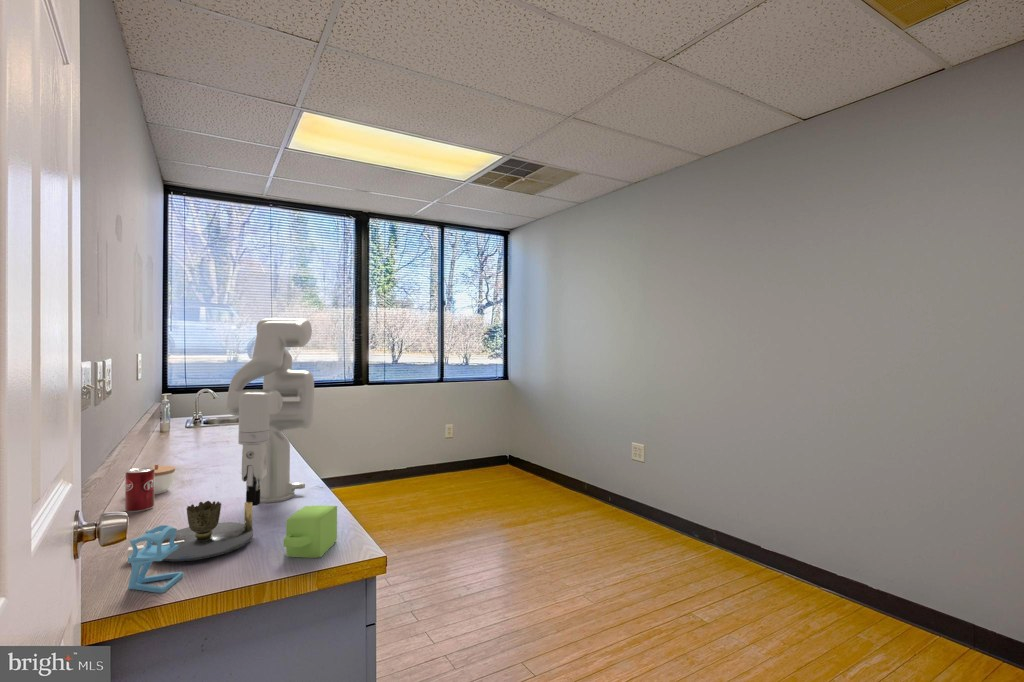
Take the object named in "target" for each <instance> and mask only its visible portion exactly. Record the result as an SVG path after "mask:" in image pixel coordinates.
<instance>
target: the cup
mask: <svg viewBox="0 0 1024 682" xmlns="http://www.w3.org/2000/svg"><path fill="white" fill-rule="evenodd" d="M185 509H186V516H187V524H188V526H189V527H190V529H191V530H192V531H193V532H195V533H196V534H195V536H196V538H197V539H205V538H208V537H210V536H211V535H212V530H213V529H214V528H215V527H216V526H217V524H218V523H220V522H219V520H220V517H221V509H222V503H221V502H219V501H217V502H216V500H214V501H212V502H211V501H210V500H207V501H204V502H203V501H200V502H199V503H198V505H195V504H193V503H192V504H191V505H187V508H185Z"/></svg>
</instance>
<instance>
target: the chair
mask: <svg viewBox="0 0 1024 682" xmlns="http://www.w3.org/2000/svg"><path fill="white" fill-rule="evenodd" d="M177 530H178V528H176V527H173V526H171V525H164V524H163V525H159V526H156V527H154V528H152V529H150V530H145V531H144V532H145V534H143V535H140V536H139V537H137V538H134V539H129V542H130V545H131V547H132V548H133V554H132V555H131V556H130V557H128V556H127V563H128V562H130V563H129V564H131V570H130V572H131V573H130V577H129V581H128V587H127V589H128V590H135V591H136V590H137V591H144V592H150V593H157V594H163V593H165V592H166V591H168V590H169V589H170V588H171V587H172V586H174V585H175V584H176V583H177V582H179V580H181V579H183V577H184V572H183V571H177V572H171V573H169V572H168V573H162V574H156V575H150V576H146V575H147V573H148V571H149V570H150V567H151V565H152V563H153V562H163V561H162V560H163V559H165V558H166V557H167V556H168V555H169V554H171V553H172V552H174V551H176V550H177V549H179V545H175V543H174V538H175V535H176V531H177ZM171 535H172V536H171ZM169 536H171V538H170V542H169V543H170V545H163V546H161V545H162V542H163V541H164V540H165V539H166V538H167V537H169ZM141 542H146V546H144V548H143V549H141V550H140V551H139V552H138V548H137V546H138V545H137V544H139V543H141ZM152 542H154V543H157V544H158V545H152ZM169 579H170V580H169ZM164 580H169V581H168V582H166V584H164V585H163V586H158V585H152V584H146V583H149V582H151V583H152V582H157V581H164Z"/></svg>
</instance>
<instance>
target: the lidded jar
mask: <svg viewBox="0 0 1024 682" xmlns="http://www.w3.org/2000/svg"><path fill="white" fill-rule="evenodd" d="M150 467H151V468H153V469H154V470H155V494H154V495H160V494H163V493H167V492H168V490H169V489H170V488H171V487H172V486H173V483H174V481H175V477H176V476H175V475H176V467H175V466H174V465H173V466H172V465H159V464H157V463H156V464H154V466H150Z"/></svg>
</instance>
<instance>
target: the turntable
mask: <svg viewBox="0 0 1024 682" xmlns="http://www.w3.org/2000/svg"><path fill="white" fill-rule="evenodd" d="M195 534H196V533H195V532H193V531H192V530H191V529H190V527H184V528H180V529H177V531H176V535H175V538H174V543H175V545H179V549H177V550H176V551H174V552H172V553H171V554H169V555H168V556H167V557H166V558H165V559H163V560H162V561H161V562H163V561H164V562H189V561H197V560H198V561H199V560H202V559H204V560H205V559H209V558H213V557H217V556H220V555H223V554H227V553H231V552H233V551H235V550H237V549H240V548H242V547H243V546H245V545H247V544H248V543H249V542H250V541H251V540H252V539H253V537H254V536H253V535H254V529H253V506H252V502H246V501H245V502H244V523H240V522H231V521H230V522H225V521H224V522H218V524H217V526H216V527H215V528H214V529H213V530H212V535H211V536H210V537H208V538H205V539H197V538H196V536H195ZM171 536H172V535H171ZM171 536H169V537H167V538H166V539H165V540H164V541H163V542H162V545H161V546H163V545H170V543H169V542H170V538H171ZM152 545H158V544H157V543H154V542H152Z"/></svg>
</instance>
